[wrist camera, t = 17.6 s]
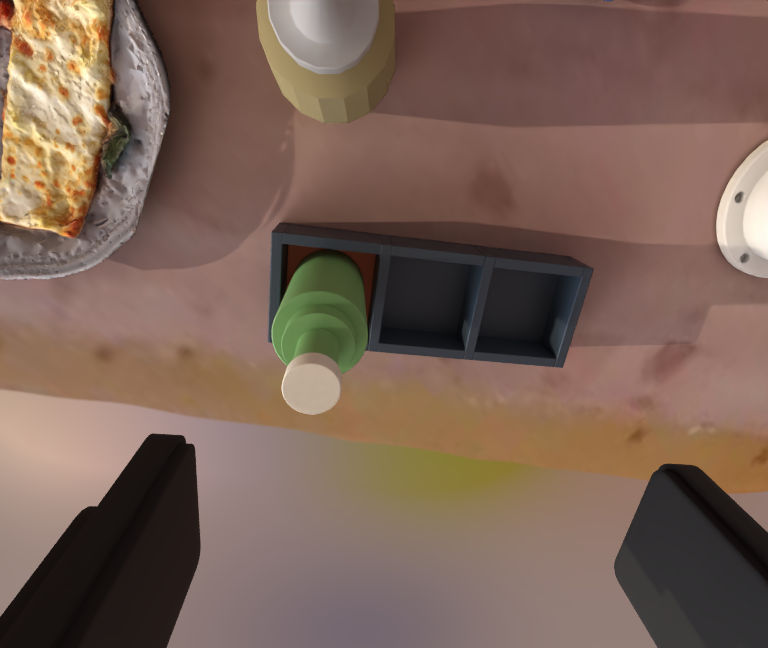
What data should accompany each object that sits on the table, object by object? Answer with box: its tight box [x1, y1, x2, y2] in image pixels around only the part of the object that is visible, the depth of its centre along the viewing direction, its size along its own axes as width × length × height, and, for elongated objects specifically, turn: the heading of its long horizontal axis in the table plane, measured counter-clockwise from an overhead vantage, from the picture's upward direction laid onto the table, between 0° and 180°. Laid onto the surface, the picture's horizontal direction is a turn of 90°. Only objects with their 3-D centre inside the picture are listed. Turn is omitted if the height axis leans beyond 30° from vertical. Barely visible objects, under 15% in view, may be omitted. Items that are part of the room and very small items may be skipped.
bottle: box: [271, 249, 368, 414], centre depth 29 cm, size 6×6×17 cm
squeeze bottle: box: [256, 0, 395, 123], centre depth 23 cm, size 8×8×18 cm
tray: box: [268, 223, 594, 368], centre depth 36 cm, size 25×9×4 cm, turn 83°
